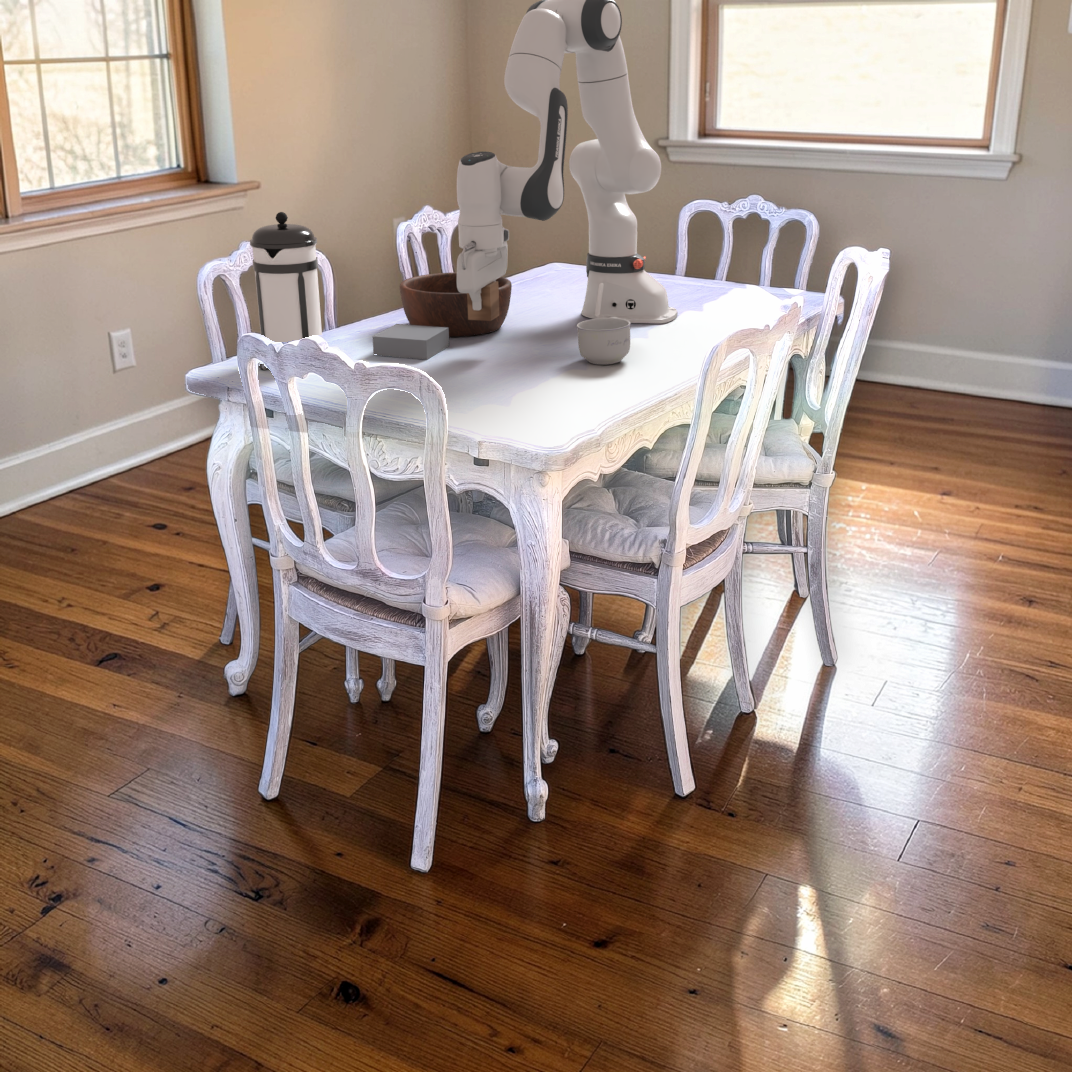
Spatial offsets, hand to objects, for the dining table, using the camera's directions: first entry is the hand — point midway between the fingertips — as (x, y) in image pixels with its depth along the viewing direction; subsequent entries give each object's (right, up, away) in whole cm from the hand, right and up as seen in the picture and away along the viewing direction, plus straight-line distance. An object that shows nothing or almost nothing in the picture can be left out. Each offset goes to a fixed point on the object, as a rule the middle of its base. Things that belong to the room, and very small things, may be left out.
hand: (483, 306), depth 248 cm
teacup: (+25, -11, -1) cm, 28 cm away
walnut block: (0, -2, +1) cm, 2 cm away
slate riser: (-15, -8, +6) cm, 18 cm away
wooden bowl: (-7, 0, +26) cm, 27 cm away
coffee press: (-38, -12, -2) cm, 40 cm away
